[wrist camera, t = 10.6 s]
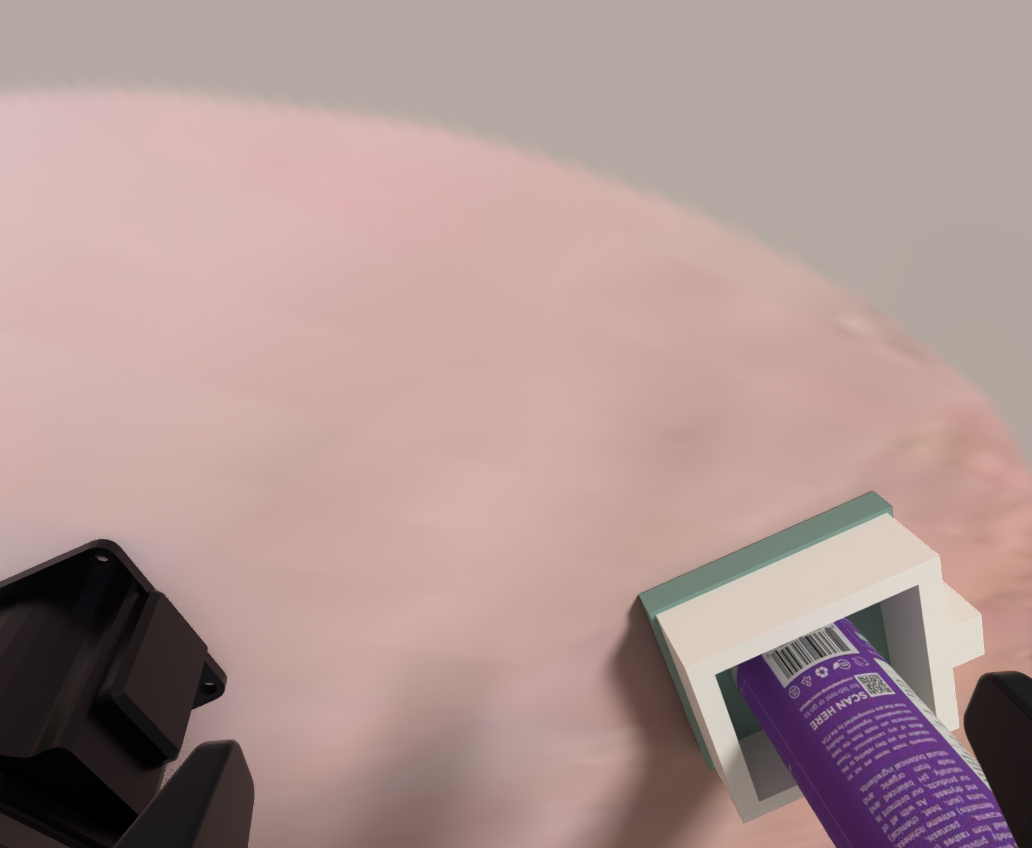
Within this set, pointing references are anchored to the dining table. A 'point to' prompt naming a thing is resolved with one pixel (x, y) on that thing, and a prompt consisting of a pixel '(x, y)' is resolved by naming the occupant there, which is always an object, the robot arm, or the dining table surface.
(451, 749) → the dining table surface
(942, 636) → the board
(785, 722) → the container
